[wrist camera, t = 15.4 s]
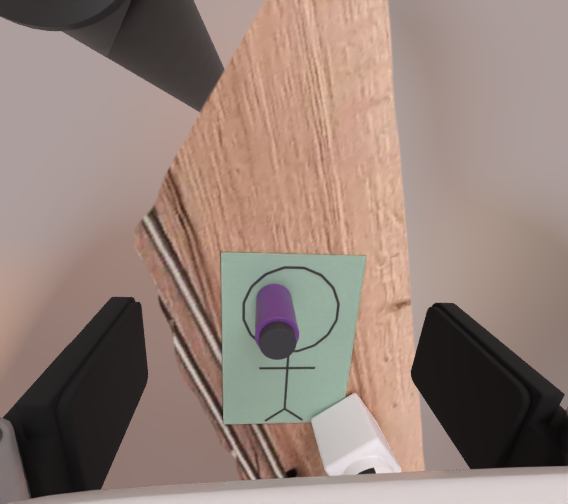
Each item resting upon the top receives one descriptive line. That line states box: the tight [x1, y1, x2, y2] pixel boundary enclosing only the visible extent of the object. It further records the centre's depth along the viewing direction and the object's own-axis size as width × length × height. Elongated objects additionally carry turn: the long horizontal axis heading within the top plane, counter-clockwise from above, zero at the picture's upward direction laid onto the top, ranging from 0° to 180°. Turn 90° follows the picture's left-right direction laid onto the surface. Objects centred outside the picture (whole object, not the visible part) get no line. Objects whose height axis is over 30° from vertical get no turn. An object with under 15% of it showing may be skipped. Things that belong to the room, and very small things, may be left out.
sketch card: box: [221, 252, 366, 424], centre depth 37 cm, size 24×16×1 cm, turn 177°
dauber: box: [255, 284, 299, 360], centre depth 30 cm, size 4×4×9 cm
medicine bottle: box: [311, 393, 401, 476], centre depth 36 cm, size 7×7×12 cm
